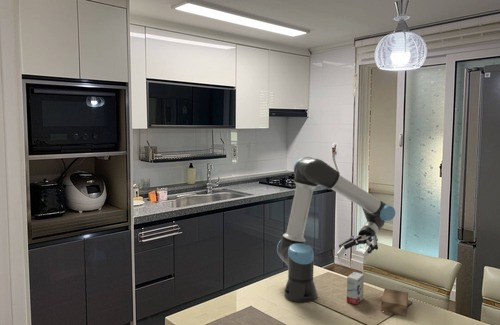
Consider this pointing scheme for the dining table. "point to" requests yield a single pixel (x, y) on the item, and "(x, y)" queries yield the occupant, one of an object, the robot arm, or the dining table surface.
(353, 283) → the ink box
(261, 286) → the dining table surface
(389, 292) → the walnut block
